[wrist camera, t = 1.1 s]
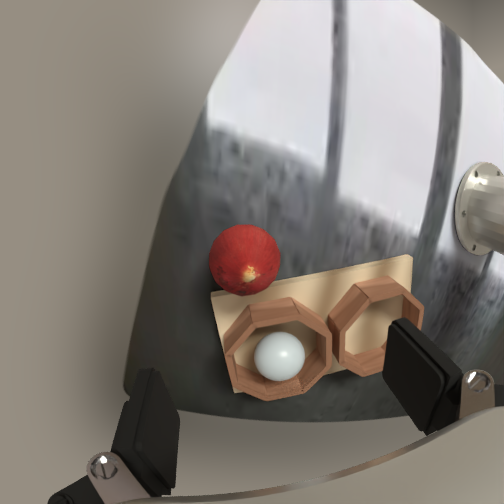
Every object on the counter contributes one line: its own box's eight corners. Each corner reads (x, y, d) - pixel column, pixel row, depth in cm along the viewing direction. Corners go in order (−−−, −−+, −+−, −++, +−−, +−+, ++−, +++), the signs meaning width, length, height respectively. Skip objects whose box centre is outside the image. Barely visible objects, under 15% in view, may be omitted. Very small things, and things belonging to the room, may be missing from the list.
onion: (257, 283, 29) (271, 325, 21) (202, 265, 28) (196, 303, 20) (280, 229, 28) (304, 255, 20) (223, 208, 26) (224, 226, 19)
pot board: (407, 254, 30) (431, 268, 26) (398, 346, 34) (415, 365, 29) (210, 292, 29) (210, 315, 24) (233, 386, 33) (236, 414, 28)
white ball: (296, 318, 29) (309, 345, 24) (299, 355, 31) (311, 384, 26) (248, 327, 29) (253, 356, 24) (254, 364, 30) (261, 395, 26)
